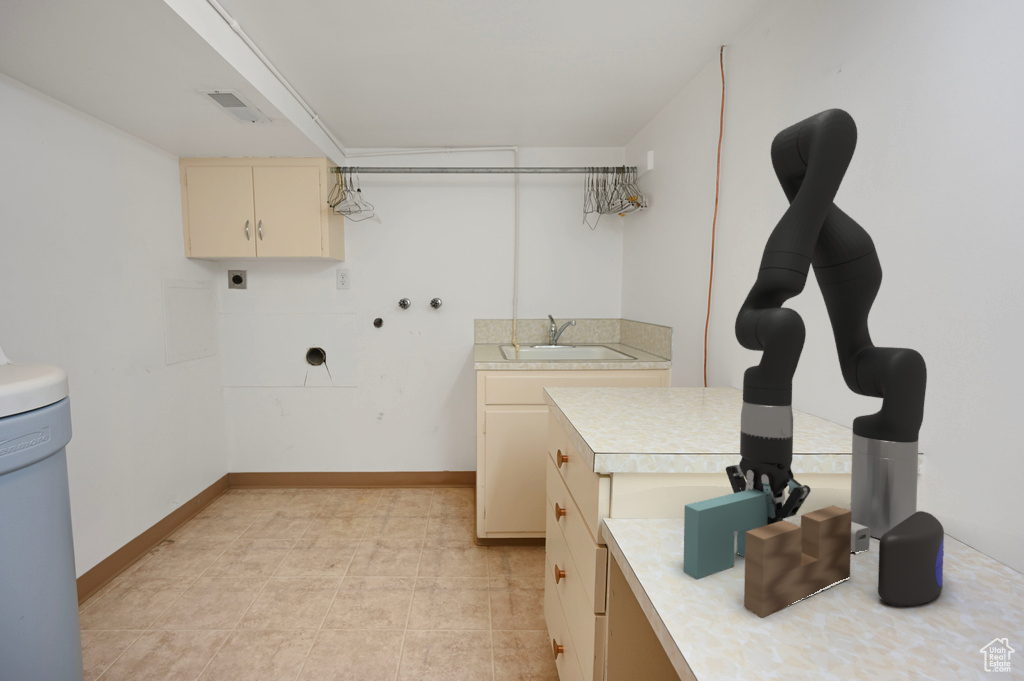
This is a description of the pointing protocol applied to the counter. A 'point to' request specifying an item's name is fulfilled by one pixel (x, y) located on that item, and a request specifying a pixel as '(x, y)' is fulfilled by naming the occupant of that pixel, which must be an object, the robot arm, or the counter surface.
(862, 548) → the usb wall charger
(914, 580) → the black rounded block
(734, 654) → the counter surface
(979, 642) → the counter surface
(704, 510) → the teal plate
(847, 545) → the brown flat u-shaped block
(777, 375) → the robot arm
